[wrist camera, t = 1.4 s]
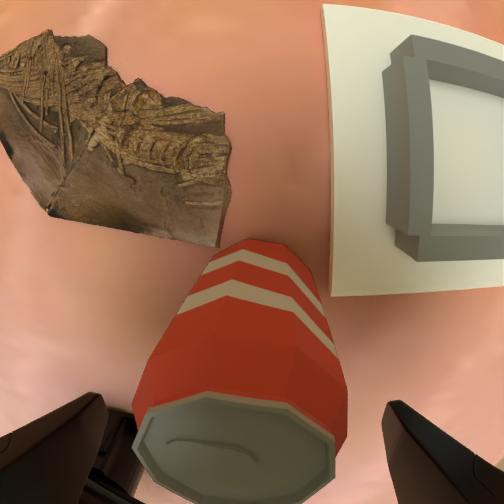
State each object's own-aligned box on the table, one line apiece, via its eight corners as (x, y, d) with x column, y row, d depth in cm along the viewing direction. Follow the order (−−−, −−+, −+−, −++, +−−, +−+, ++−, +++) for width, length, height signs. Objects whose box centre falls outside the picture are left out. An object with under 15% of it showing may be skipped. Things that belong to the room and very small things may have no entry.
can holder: (527, 277, 17) (560, 297, 13) (328, 289, 18) (341, 322, 14) (528, 62, 12) (562, 53, 9) (320, 11, 13) (331, -24, 10)
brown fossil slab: (285, 157, 16) (285, 156, 15) (173, 309, 19) (168, 316, 18) (18, 5, 14) (10, 1, 13) (-40, 118, 16) (-48, 118, 15)
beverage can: (207, 229, 17) (94, 348, 6) (324, 248, 17) (403, 395, 6) (198, 327, 19) (126, 493, 7) (302, 343, 19) (322, 522, 7)
